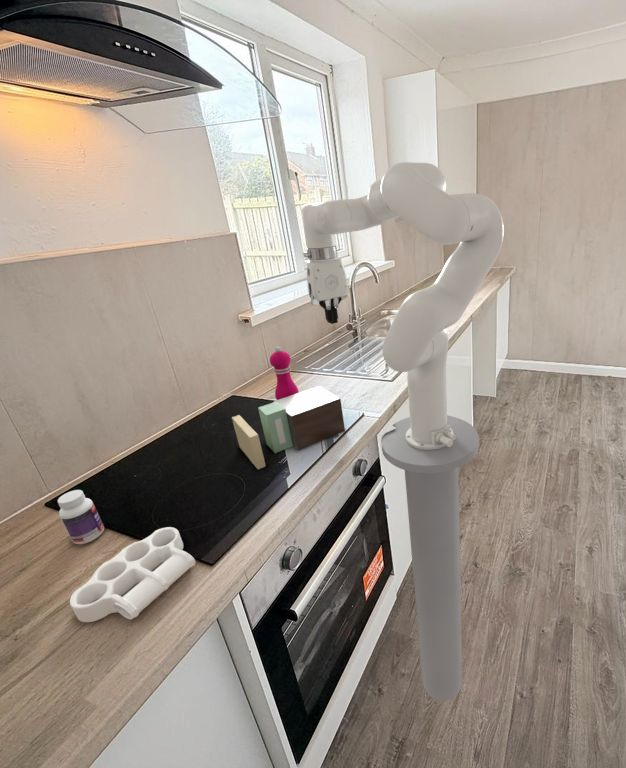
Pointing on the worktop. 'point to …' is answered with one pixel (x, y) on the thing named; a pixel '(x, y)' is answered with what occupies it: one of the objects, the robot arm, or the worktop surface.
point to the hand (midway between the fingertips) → (332, 322)
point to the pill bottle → (80, 517)
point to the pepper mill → (282, 374)
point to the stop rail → (249, 441)
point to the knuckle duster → (133, 577)
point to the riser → (313, 416)
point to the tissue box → (275, 426)
